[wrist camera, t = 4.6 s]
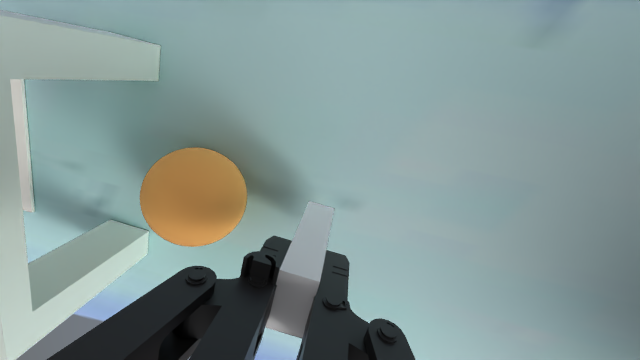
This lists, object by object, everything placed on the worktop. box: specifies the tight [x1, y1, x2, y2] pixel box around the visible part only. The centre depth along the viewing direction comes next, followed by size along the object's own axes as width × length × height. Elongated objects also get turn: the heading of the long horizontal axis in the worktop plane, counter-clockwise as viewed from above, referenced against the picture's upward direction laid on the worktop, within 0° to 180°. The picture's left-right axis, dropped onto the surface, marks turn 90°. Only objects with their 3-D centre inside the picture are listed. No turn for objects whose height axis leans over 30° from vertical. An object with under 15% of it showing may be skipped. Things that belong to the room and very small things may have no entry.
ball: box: [140, 147, 247, 247], centre depth 17 cm, size 6×6×6 cm
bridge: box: [0, 10, 161, 360], centre depth 15 cm, size 3×14×9 cm, turn 166°
